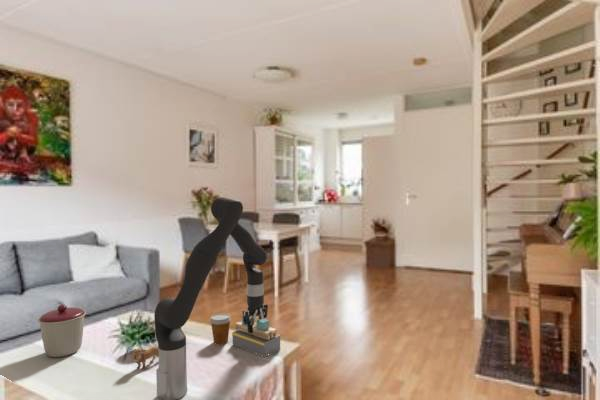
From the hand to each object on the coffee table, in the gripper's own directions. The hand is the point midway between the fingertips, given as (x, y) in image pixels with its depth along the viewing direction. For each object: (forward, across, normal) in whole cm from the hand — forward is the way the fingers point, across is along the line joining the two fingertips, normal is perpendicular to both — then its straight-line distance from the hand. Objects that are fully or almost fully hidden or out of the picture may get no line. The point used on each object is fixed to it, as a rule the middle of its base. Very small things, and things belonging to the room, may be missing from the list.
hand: (255, 330), depth 171 cm
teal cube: (-2, 0, -5) cm, 5 cm away
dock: (+8, 0, 0) cm, 8 cm away
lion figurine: (+8, -39, +22) cm, 46 cm away
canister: (+8, -55, +64) cm, 85 cm away
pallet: (+1, 0, 0) cm, 1 cm away
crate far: (-2, 0, +5) cm, 5 cm away
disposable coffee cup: (+8, -6, +17) cm, 20 cm away
